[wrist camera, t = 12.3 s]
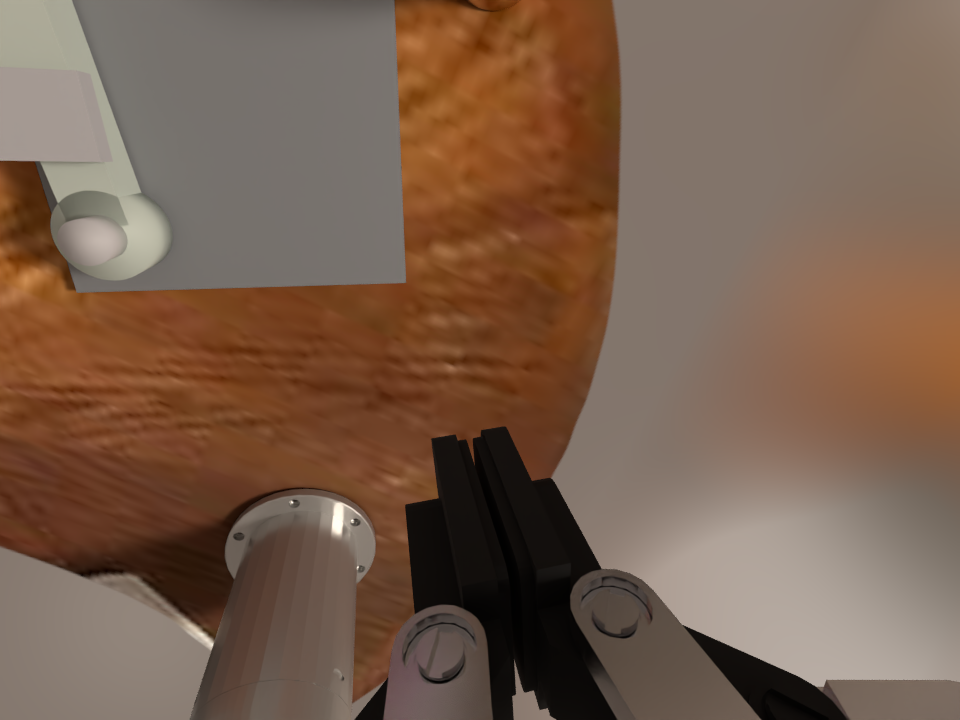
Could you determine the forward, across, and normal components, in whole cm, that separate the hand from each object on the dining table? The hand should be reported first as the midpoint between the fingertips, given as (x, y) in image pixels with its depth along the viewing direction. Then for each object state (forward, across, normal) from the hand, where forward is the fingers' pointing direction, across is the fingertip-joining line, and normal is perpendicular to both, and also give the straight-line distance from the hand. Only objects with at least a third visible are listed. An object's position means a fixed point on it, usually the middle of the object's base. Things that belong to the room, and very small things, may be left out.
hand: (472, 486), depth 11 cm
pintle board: (+27, +10, -9) cm, 30 cm away
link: (+26, +17, -10) cm, 32 cm away
